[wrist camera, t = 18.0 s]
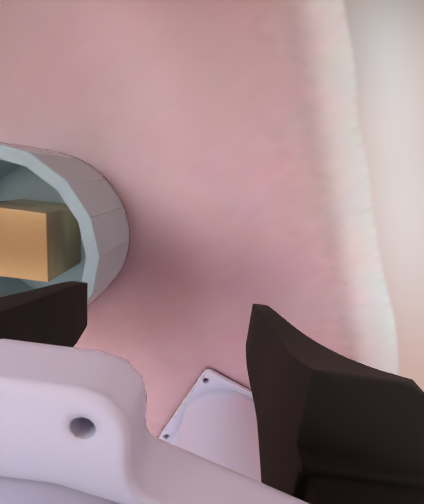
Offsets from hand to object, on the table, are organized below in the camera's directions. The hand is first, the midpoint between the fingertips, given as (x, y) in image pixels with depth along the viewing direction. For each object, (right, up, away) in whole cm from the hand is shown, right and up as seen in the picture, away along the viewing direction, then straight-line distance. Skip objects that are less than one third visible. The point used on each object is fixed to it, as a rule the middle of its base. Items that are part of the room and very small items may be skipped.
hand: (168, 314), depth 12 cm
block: (-10, +4, +10) cm, 15 cm away
